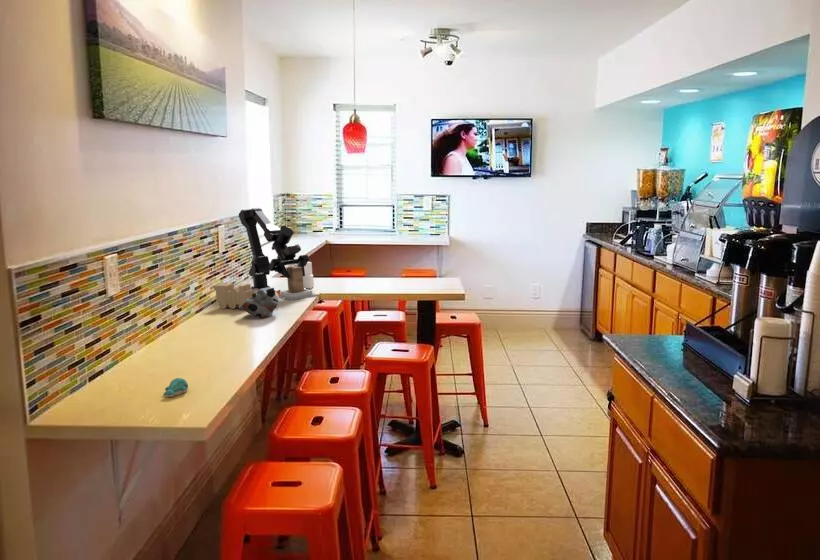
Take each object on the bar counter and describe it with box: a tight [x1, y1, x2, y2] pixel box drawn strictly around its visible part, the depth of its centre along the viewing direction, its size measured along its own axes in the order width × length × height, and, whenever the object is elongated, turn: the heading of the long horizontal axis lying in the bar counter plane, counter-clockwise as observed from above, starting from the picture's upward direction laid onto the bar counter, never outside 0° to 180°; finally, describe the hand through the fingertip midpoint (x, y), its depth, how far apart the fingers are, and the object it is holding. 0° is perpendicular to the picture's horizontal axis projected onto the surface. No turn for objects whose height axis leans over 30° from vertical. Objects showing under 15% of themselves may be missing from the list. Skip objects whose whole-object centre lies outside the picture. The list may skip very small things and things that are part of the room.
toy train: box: [212, 282, 254, 310], centre depth 268 cm, size 6×17×10 cm, turn 71°
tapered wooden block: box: [286, 265, 304, 293], centre depth 289 cm, size 5×5×12 cm
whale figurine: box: [163, 377, 189, 397], centre depth 164 cm, size 6×7×4 cm
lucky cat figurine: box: [238, 286, 282, 320], centre depth 251 cm, size 15×12×14 cm
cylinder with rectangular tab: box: [294, 261, 315, 289], centre depth 310 cm, size 9×9×12 cm
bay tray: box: [280, 289, 319, 301], centre depth 290 cm, size 14×14×2 cm
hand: (297, 277), depth 287 cm, fingers open, 7 cm apart
